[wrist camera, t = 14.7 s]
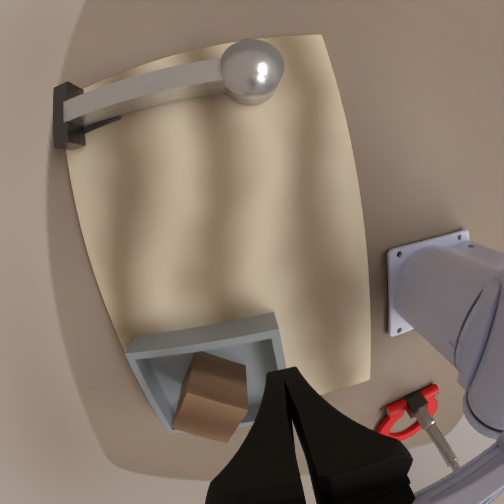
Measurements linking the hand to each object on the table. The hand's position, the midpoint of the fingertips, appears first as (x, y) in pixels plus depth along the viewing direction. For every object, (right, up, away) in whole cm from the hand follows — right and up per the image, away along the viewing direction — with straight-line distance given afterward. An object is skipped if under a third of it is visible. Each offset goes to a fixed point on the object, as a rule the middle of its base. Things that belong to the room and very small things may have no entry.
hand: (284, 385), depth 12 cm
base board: (-3, +6, +8) cm, 11 cm away
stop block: (-5, -4, +9) cm, 11 cm away
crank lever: (-7, +16, +4) cm, 18 cm away
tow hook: (+17, -14, +14) cm, 26 cm away
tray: (-4, -4, +10) cm, 11 cm away
